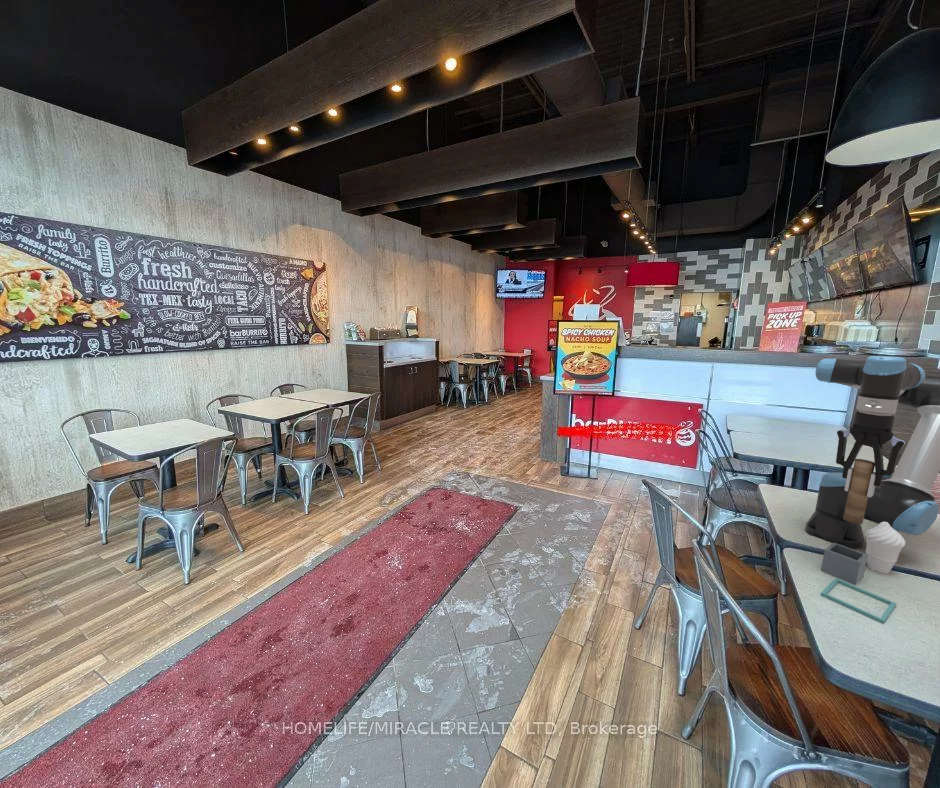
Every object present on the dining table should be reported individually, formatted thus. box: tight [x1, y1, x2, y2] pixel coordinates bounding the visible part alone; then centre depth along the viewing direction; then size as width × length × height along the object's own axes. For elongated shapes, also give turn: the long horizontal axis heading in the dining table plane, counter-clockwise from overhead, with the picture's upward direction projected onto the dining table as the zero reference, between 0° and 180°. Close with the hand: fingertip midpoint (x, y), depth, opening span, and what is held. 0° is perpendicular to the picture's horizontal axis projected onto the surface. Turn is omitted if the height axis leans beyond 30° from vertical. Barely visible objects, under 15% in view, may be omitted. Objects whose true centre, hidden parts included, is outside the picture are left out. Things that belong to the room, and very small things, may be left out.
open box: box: [820, 542, 868, 587], centre depth 113 cm, size 8×8×8 cm
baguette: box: [843, 458, 875, 525], centre depth 109 cm, size 4×4×18 cm
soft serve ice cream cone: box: [864, 522, 906, 575], centre depth 115 cm, size 8×8×16 cm
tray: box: [819, 577, 897, 625], centre depth 102 cm, size 12×12×2 cm
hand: (858, 492), depth 109 cm, fingers closed on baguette, 4 cm apart
